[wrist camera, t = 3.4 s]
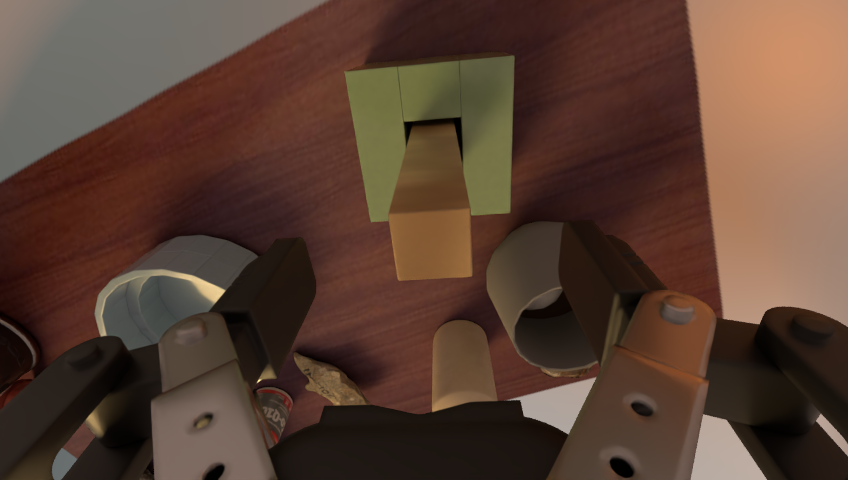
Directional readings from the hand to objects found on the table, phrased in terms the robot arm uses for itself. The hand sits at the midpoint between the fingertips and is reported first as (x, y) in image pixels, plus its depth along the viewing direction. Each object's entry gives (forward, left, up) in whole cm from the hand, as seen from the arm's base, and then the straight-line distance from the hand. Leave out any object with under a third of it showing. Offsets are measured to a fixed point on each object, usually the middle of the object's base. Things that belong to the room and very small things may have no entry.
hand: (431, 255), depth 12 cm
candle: (+1, -22, -19) cm, 29 cm away
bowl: (-22, -15, -19) cm, 32 cm away
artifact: (-13, -26, -19) cm, 34 cm away
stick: (0, 0, -19) cm, 19 cm away
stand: (0, 0, -19) cm, 19 cm away
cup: (+8, -12, -19) cm, 23 cm away
